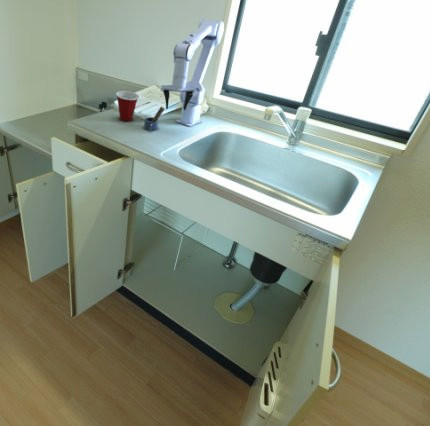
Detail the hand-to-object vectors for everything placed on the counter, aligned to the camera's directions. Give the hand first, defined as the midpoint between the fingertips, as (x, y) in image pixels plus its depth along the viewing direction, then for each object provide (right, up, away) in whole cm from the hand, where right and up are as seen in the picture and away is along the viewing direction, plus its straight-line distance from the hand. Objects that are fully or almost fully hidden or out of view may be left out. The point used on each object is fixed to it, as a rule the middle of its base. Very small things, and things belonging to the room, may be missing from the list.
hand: (175, 108), depth 142 cm
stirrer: (-10, -6, +8) cm, 14 cm away
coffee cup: (-10, -7, +7) cm, 14 cm away
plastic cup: (-22, 0, +16) cm, 27 cm away
